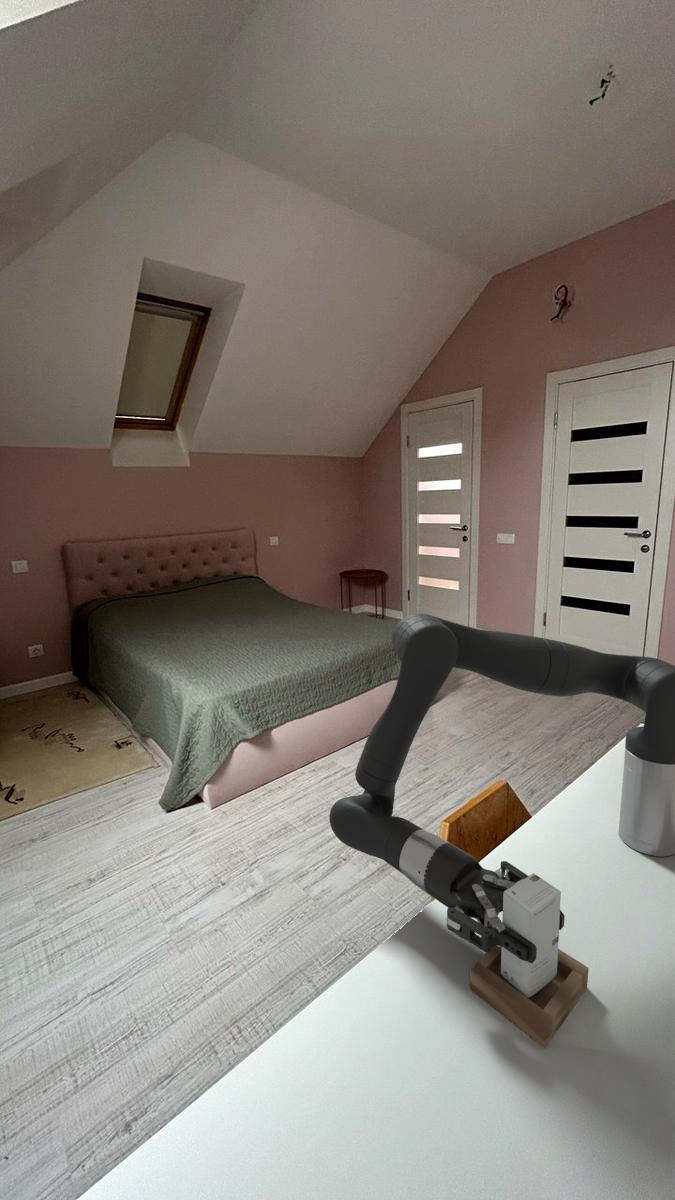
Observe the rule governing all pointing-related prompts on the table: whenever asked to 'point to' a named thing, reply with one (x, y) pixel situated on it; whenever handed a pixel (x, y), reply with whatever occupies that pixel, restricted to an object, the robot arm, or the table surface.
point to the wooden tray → (541, 1009)
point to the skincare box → (532, 932)
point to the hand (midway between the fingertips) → (549, 938)
